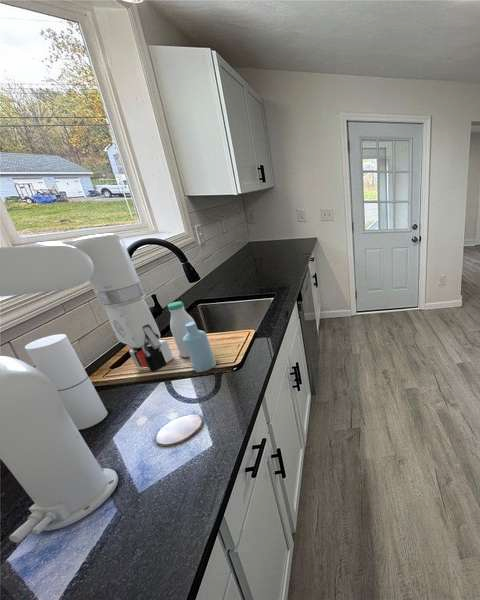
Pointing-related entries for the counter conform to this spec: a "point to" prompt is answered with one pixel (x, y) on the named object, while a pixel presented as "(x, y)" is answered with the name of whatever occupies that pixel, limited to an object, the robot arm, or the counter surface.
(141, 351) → the cap
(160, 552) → the counter surface
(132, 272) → the robot arm
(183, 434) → the coaster
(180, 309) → the milk bottle
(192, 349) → the water bottle
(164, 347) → the container
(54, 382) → the cylindrical container
